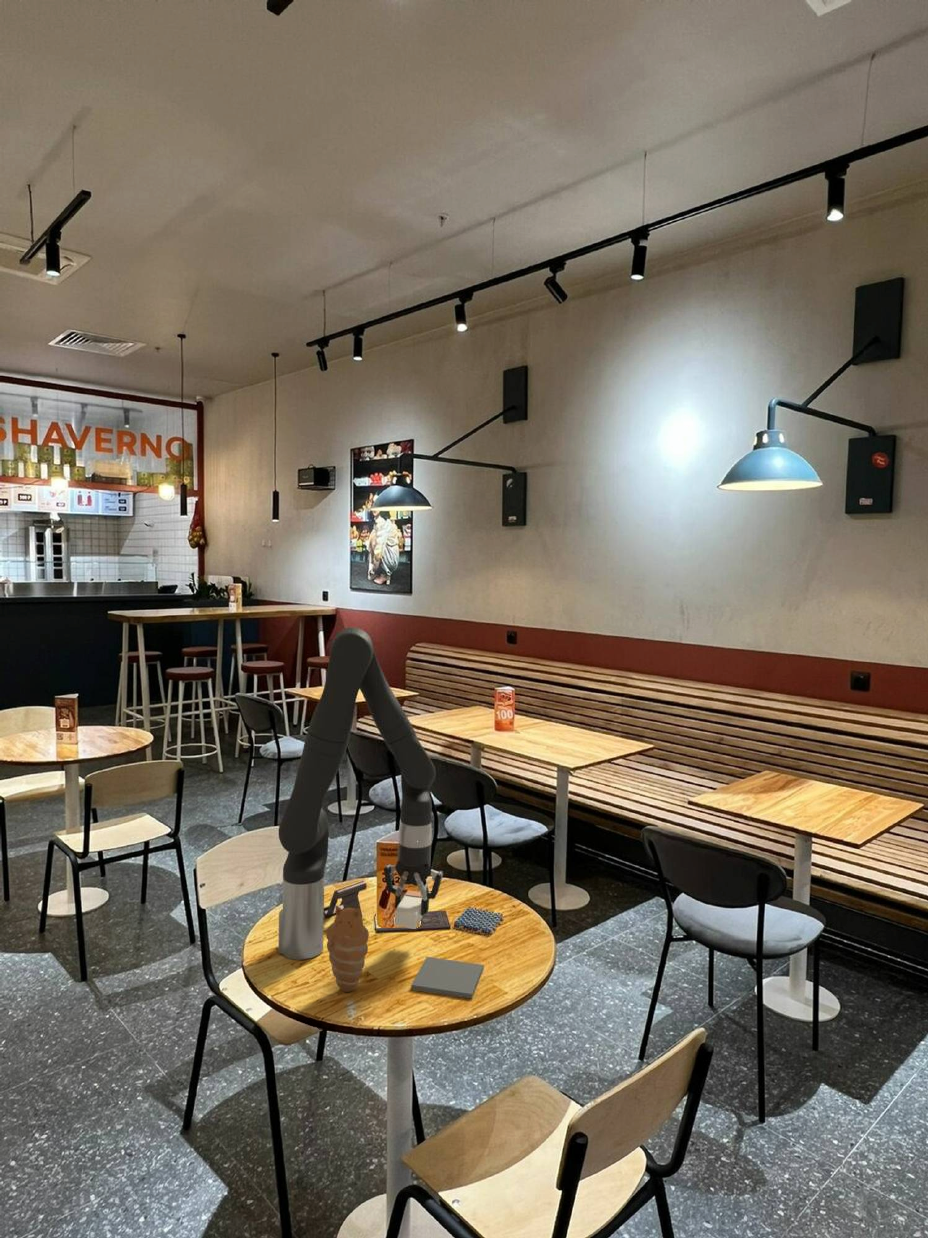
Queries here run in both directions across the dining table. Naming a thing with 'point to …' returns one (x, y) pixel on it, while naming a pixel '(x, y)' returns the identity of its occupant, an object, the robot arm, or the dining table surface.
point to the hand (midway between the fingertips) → (411, 912)
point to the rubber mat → (448, 977)
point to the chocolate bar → (423, 923)
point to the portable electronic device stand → (345, 898)
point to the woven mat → (478, 921)
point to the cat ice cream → (347, 947)
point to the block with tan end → (409, 910)
